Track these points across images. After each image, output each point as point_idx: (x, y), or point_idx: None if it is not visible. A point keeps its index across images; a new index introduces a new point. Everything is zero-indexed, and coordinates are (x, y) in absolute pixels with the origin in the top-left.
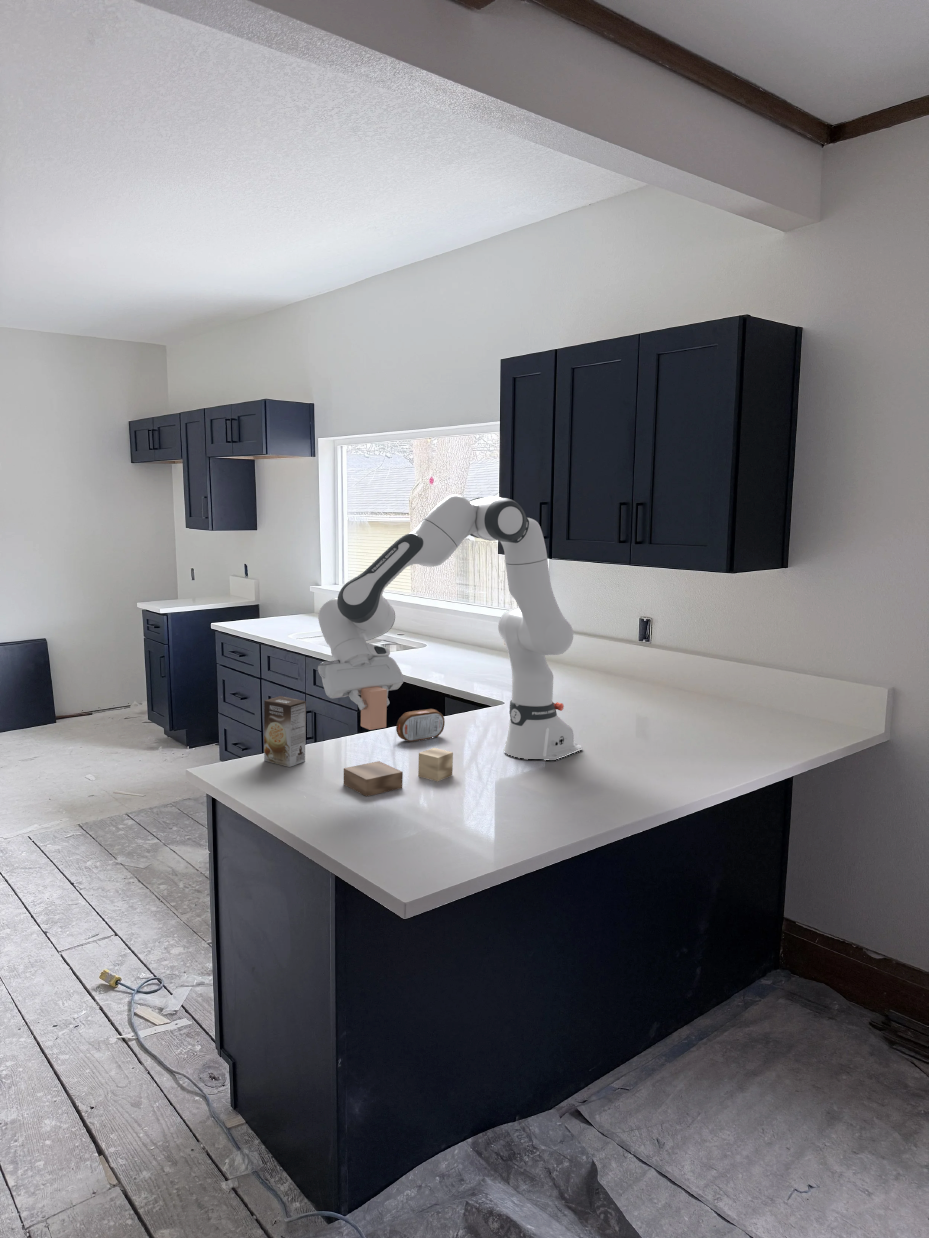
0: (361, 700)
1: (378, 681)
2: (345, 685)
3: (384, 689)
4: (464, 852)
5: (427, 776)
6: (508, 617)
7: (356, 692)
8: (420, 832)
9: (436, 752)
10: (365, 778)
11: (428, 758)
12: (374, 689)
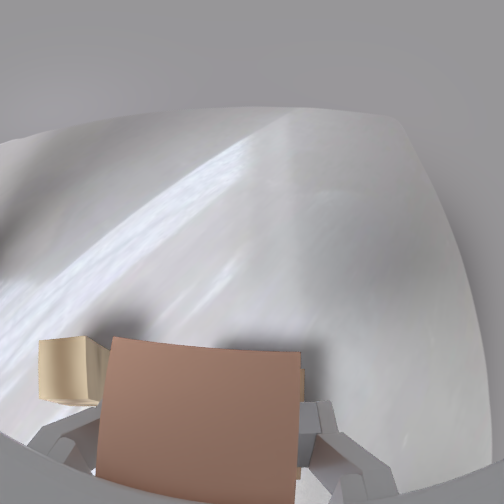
0: (331, 429)
1: (60, 488)
2: (487, 492)
3: (127, 351)
4: (300, 134)
5: None
6: None
7: (362, 483)
8: (312, 190)
9: (59, 368)
10: (301, 378)
11: (90, 367)
12: (201, 414)
